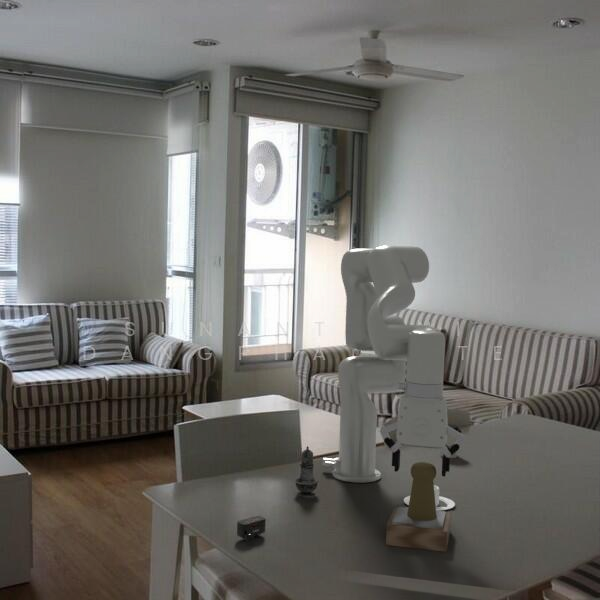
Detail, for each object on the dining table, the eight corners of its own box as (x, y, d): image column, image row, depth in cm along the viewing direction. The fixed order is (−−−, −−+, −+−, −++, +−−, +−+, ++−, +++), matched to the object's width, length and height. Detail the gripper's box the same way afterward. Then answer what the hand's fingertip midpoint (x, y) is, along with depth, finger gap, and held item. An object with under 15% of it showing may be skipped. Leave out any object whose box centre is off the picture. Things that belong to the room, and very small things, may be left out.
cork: (417, 522, 160) (419, 468, 159) (401, 513, 165) (403, 461, 165) (442, 518, 162) (444, 465, 162) (425, 509, 168) (427, 458, 167)
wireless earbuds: (232, 537, 162) (233, 522, 162) (258, 530, 166) (258, 515, 166) (246, 543, 159) (247, 528, 158) (272, 535, 163) (272, 521, 163)
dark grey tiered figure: (322, 494, 193) (323, 445, 192) (312, 500, 187) (313, 450, 187) (300, 490, 195) (301, 442, 194) (289, 496, 190) (291, 447, 189)
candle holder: (419, 515, 180) (420, 496, 180) (394, 499, 191) (395, 481, 191) (464, 511, 184) (465, 492, 184) (438, 495, 195) (438, 478, 195)
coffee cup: (464, 459, 230) (465, 425, 230) (455, 464, 224) (456, 429, 224) (441, 455, 234) (442, 422, 234) (432, 460, 228) (433, 426, 228)
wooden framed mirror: (385, 544, 159) (386, 522, 159) (393, 525, 171) (394, 504, 171) (446, 551, 157) (447, 528, 156) (449, 531, 168) (450, 510, 168)
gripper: (379, 390, 161) (375, 473, 162) (466, 397, 157) (462, 482, 158) (384, 384, 168) (381, 463, 169) (467, 390, 164) (463, 471, 165)
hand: (420, 472), depth 164 cm, fingers open, 9 cm apart
